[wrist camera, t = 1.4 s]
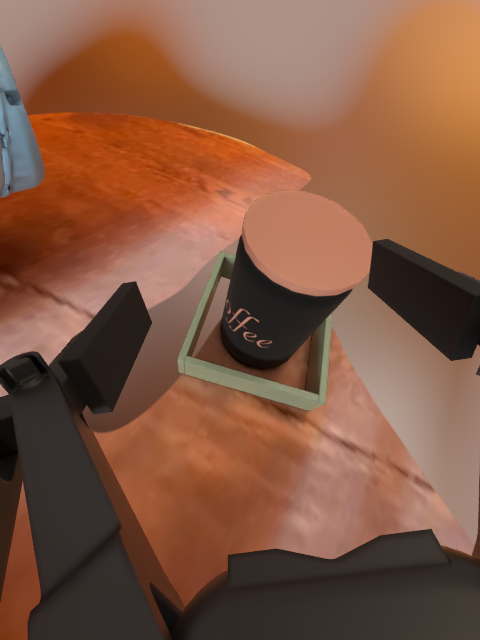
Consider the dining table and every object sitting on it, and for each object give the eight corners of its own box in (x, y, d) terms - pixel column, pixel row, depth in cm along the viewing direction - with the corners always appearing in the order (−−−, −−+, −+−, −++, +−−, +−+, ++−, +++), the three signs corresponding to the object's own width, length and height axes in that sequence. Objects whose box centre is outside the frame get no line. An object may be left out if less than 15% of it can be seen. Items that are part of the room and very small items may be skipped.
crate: (178, 372, 32) (176, 359, 28) (217, 271, 40) (220, 250, 36) (309, 411, 32) (325, 404, 28) (320, 302, 40) (334, 285, 36)
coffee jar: (210, 308, 36) (224, 193, 21) (278, 294, 40) (334, 185, 24) (233, 381, 32) (274, 304, 17) (308, 358, 35) (401, 276, 20)
